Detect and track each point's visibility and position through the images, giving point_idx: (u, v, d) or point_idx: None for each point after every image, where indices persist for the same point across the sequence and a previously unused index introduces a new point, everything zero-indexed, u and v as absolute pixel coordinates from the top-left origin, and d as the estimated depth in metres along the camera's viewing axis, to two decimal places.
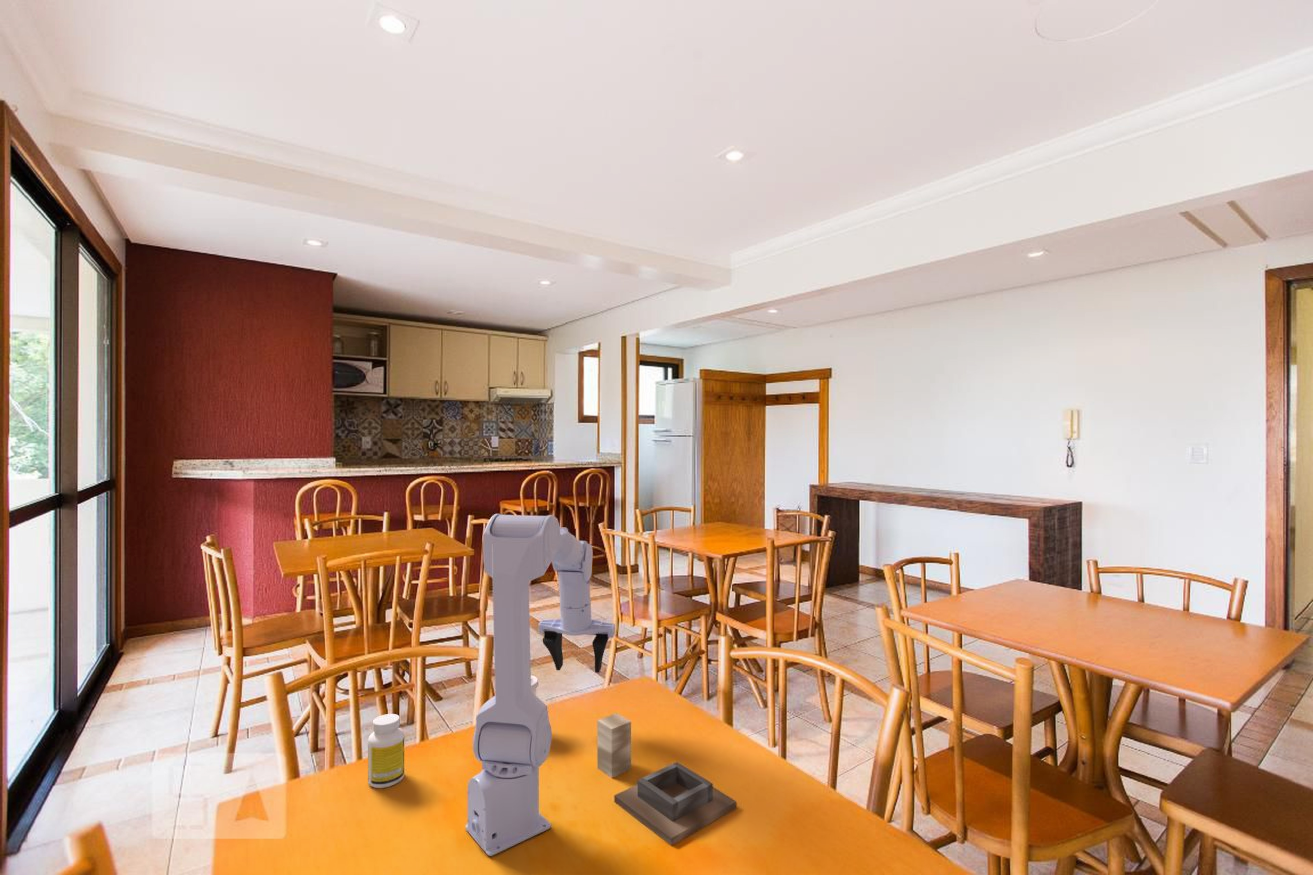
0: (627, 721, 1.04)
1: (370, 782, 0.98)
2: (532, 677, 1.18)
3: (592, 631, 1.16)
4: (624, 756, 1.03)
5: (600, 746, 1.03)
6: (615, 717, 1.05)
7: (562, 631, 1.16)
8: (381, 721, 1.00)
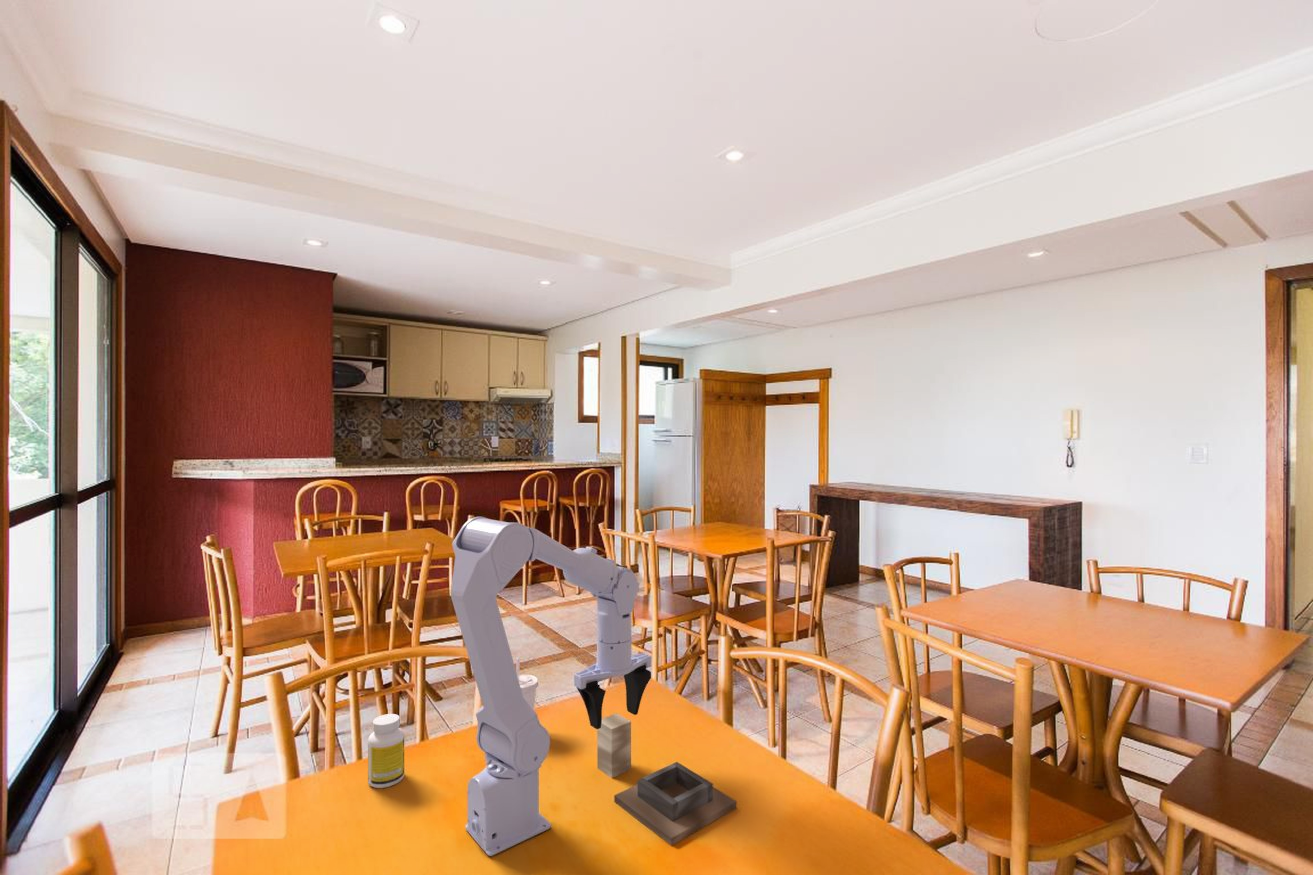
0: (627, 721, 1.04)
1: (370, 782, 0.98)
2: (532, 677, 1.18)
3: (638, 664, 1.04)
4: (624, 756, 1.03)
5: (600, 746, 1.03)
6: (615, 717, 1.05)
7: (613, 673, 1.00)
8: (381, 721, 1.00)
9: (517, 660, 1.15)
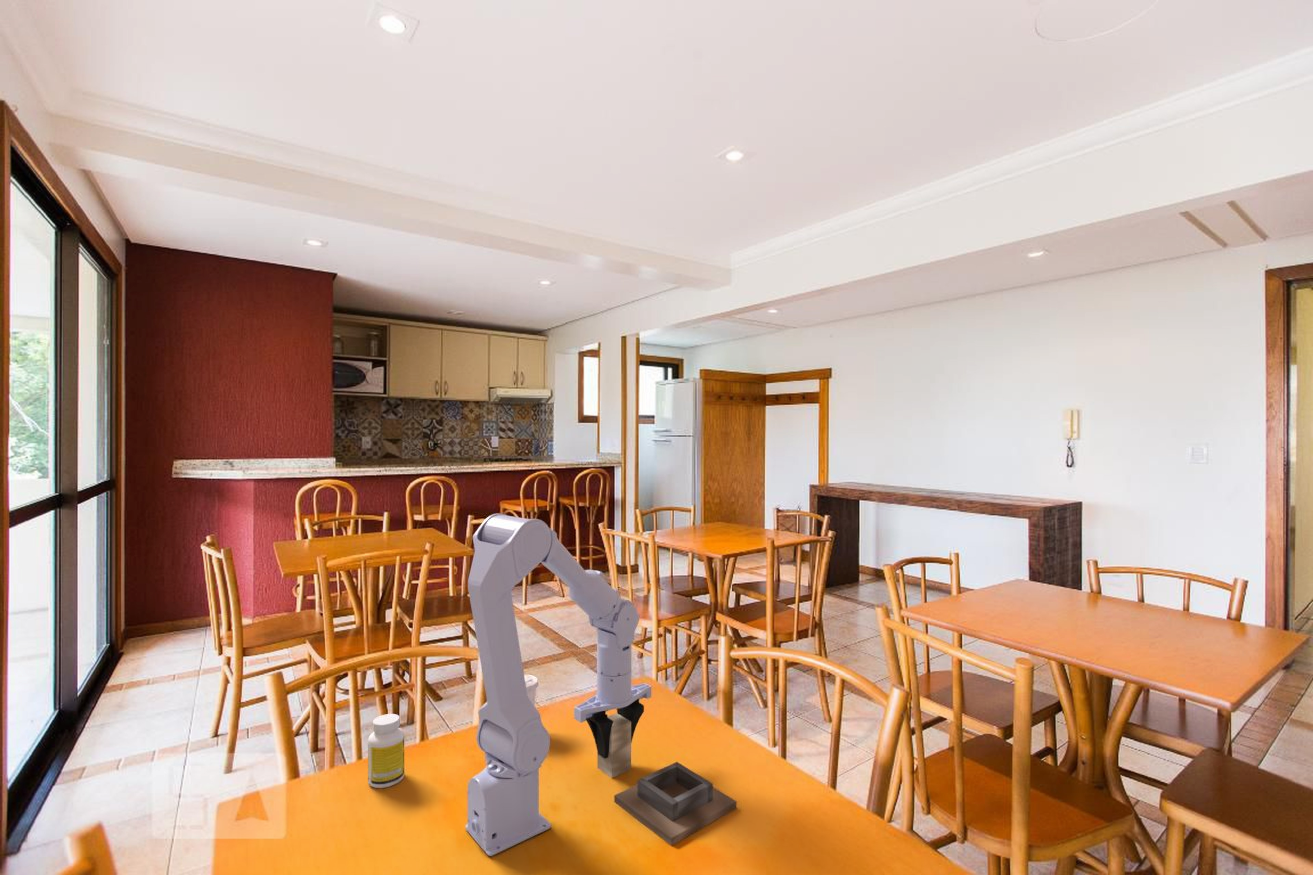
0: (627, 721, 1.04)
1: (370, 782, 0.98)
2: (532, 677, 1.18)
3: (638, 695, 1.04)
4: (624, 756, 1.03)
5: None
6: (615, 717, 1.05)
7: (613, 706, 1.00)
8: (381, 721, 1.00)
9: None
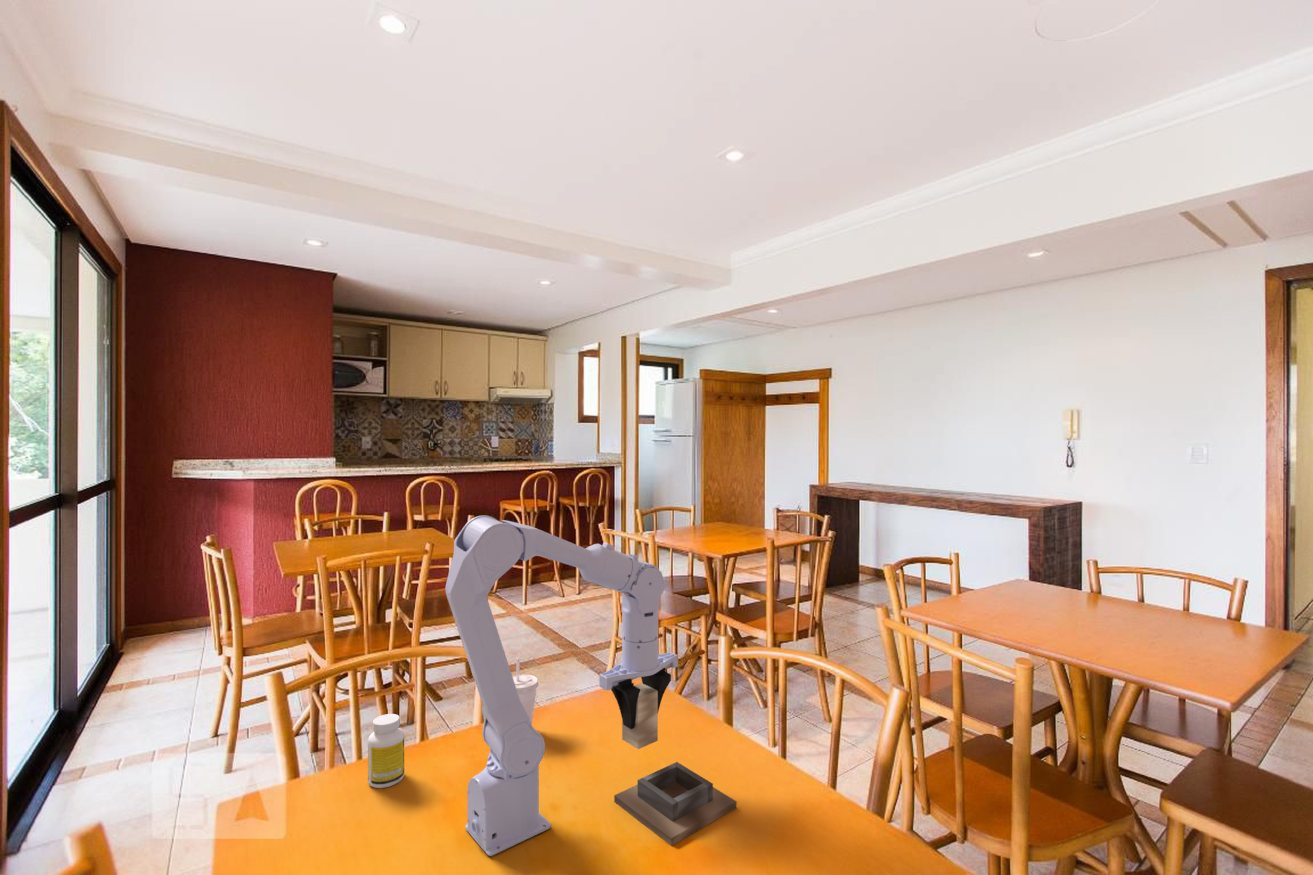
0: (653, 690, 0.99)
1: (370, 782, 0.98)
2: (532, 677, 1.18)
3: (665, 664, 1.00)
4: (650, 727, 0.98)
5: None
6: (640, 687, 1.00)
7: (640, 674, 0.96)
8: (381, 721, 1.00)
9: (517, 660, 1.15)
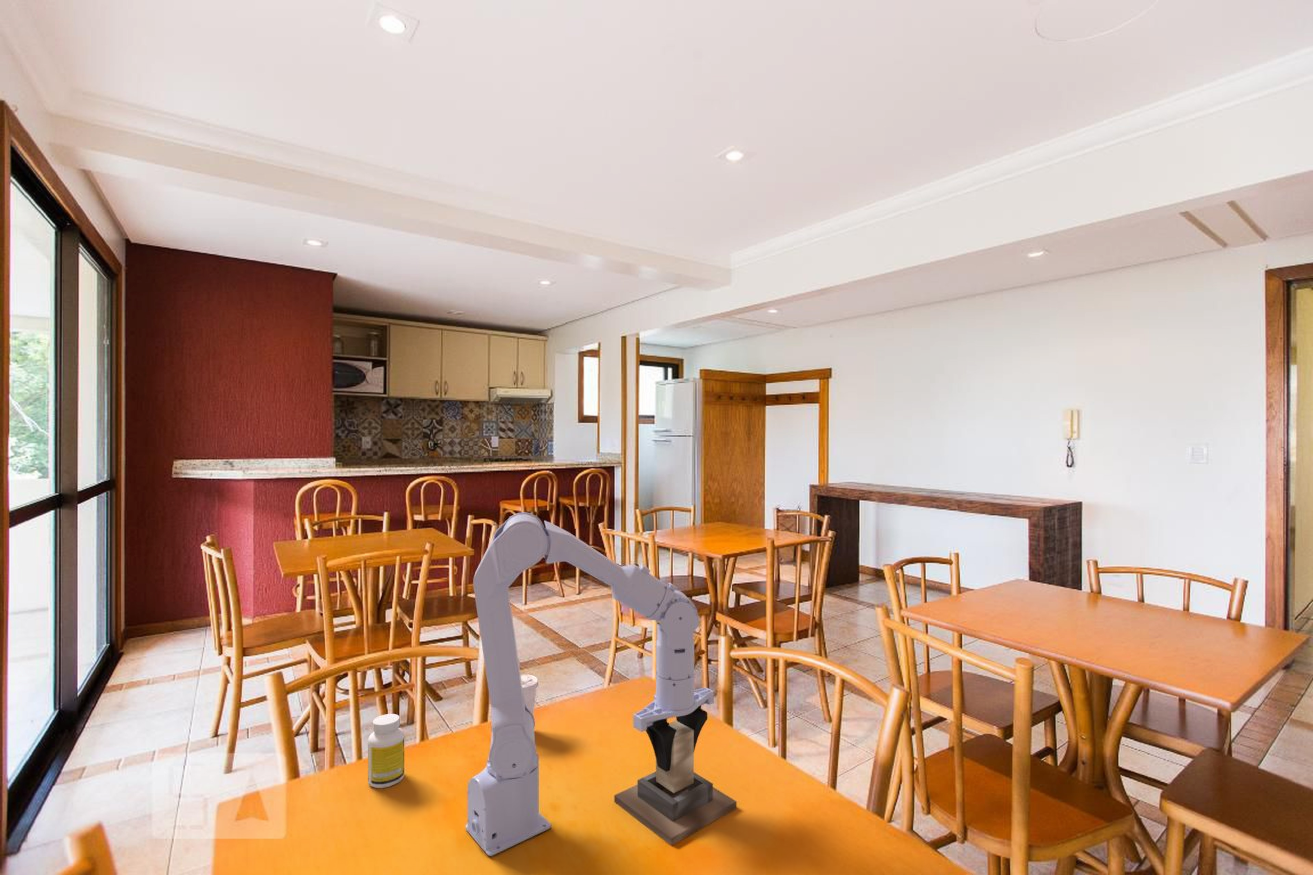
0: (689, 729, 0.93)
1: (370, 782, 0.98)
2: (532, 677, 1.18)
3: (701, 701, 0.94)
4: (686, 768, 0.93)
5: None
6: (675, 725, 0.95)
7: (676, 713, 0.90)
8: (381, 721, 1.00)
9: None
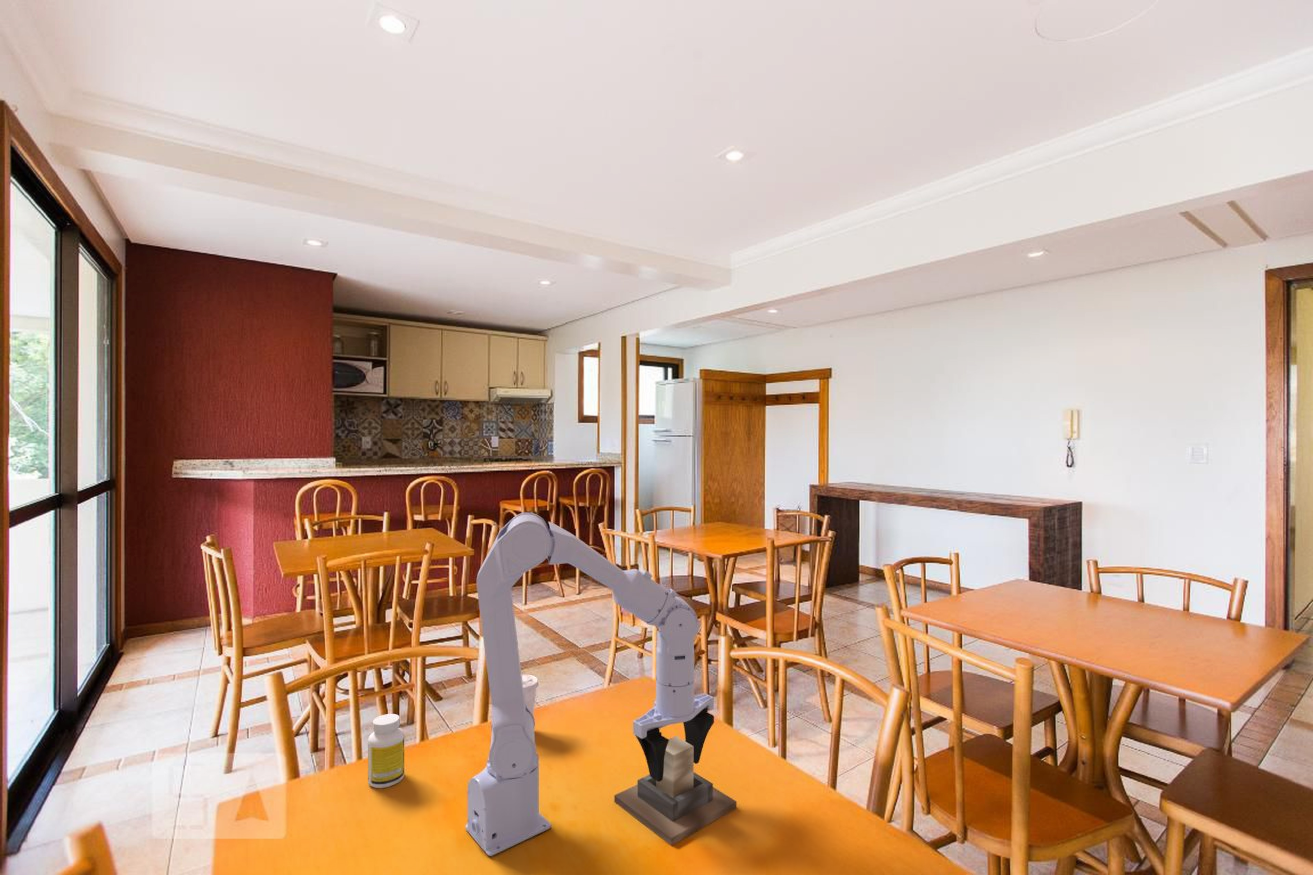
0: (689, 746, 0.94)
1: (370, 782, 0.98)
2: (532, 677, 1.18)
3: (701, 708, 0.94)
4: (686, 785, 0.93)
5: None
6: (675, 741, 0.95)
7: (676, 720, 0.90)
8: (381, 721, 1.00)
9: None
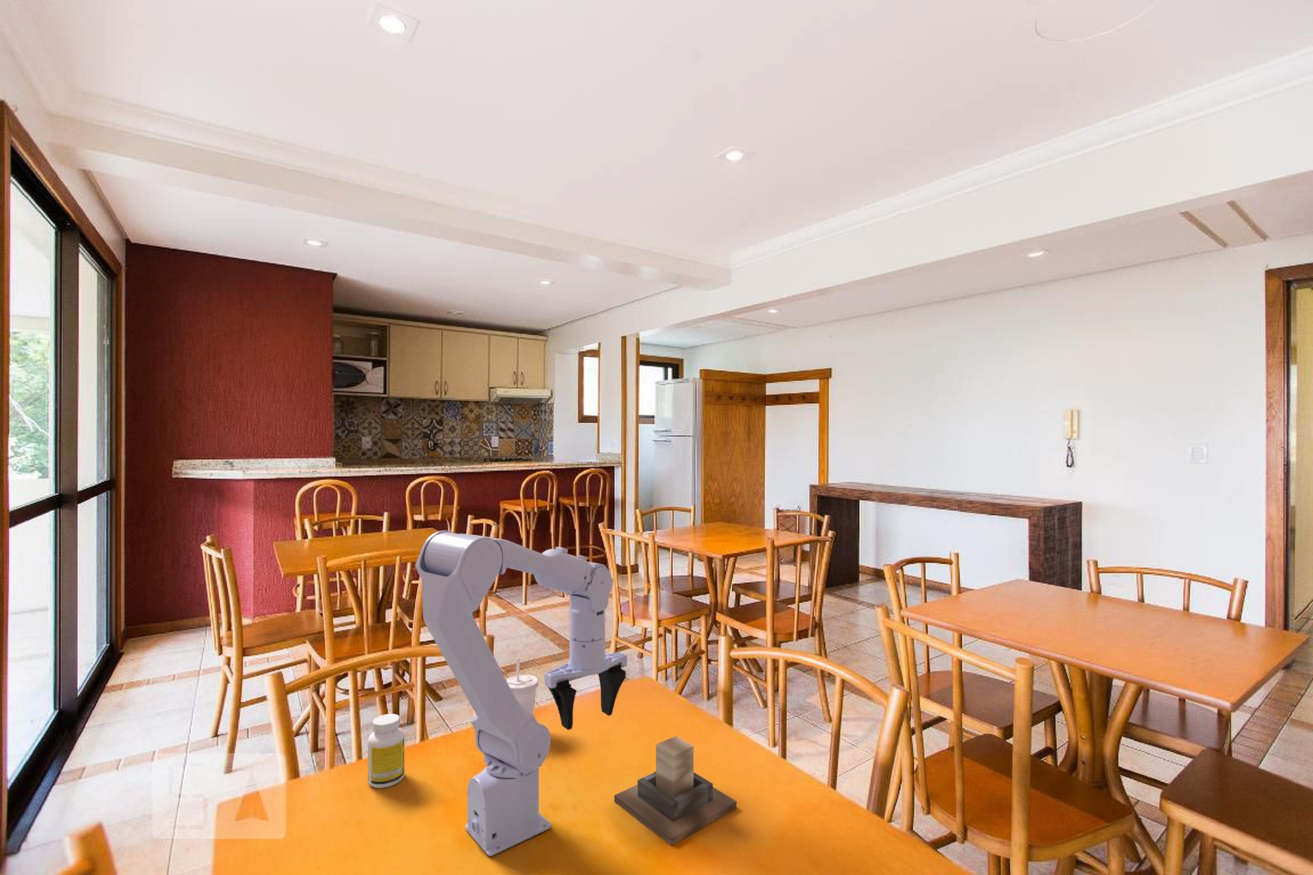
0: (689, 746, 0.94)
1: (370, 782, 0.98)
2: (532, 677, 1.18)
3: (612, 663, 1.01)
4: (686, 785, 0.93)
5: (659, 773, 0.93)
6: (675, 741, 0.95)
7: (585, 673, 0.98)
8: (381, 721, 1.00)
9: (517, 660, 1.15)
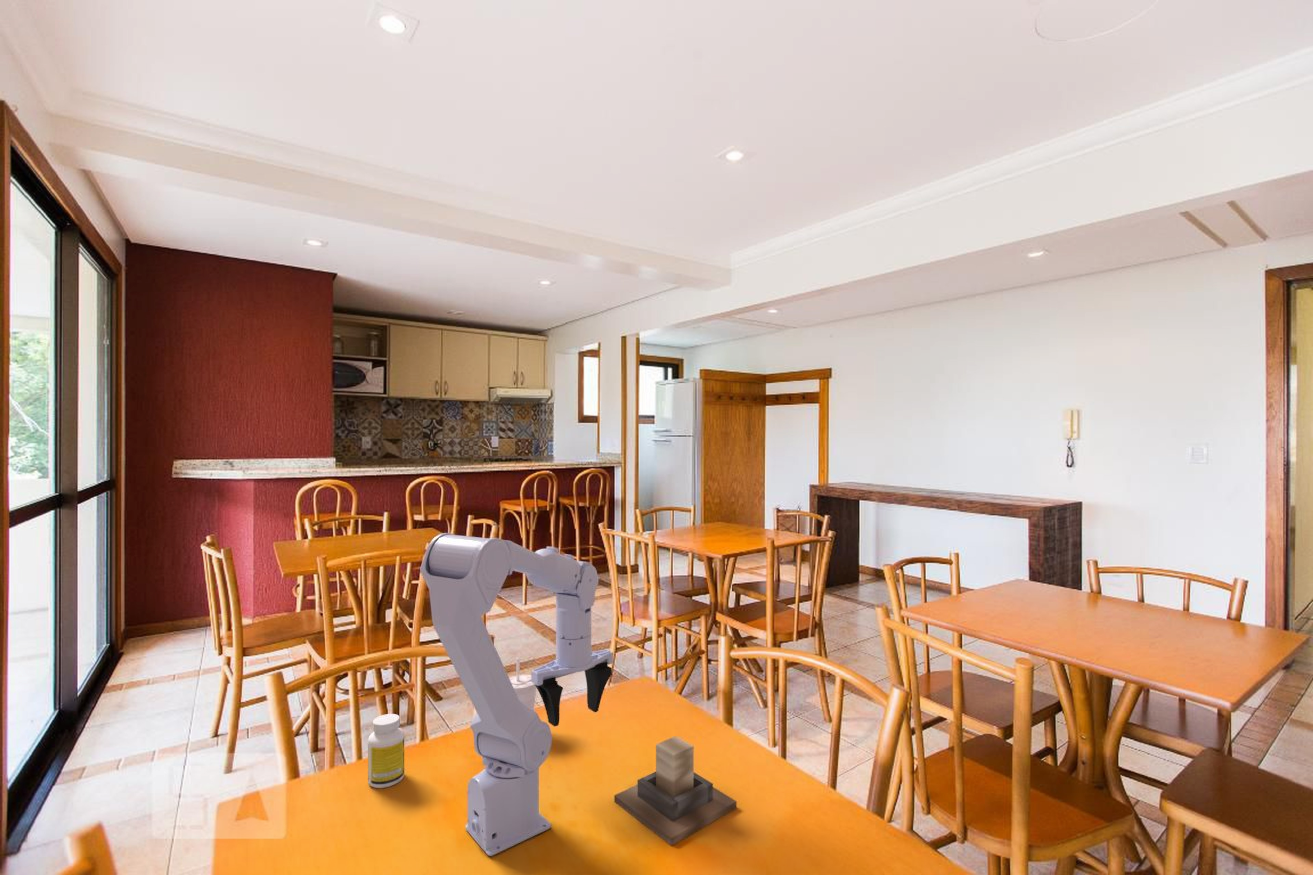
0: (689, 746, 0.94)
1: (370, 782, 0.98)
2: None
3: (598, 660, 1.03)
4: (686, 785, 0.93)
5: (659, 773, 0.93)
6: (675, 741, 0.95)
7: (571, 670, 0.99)
8: (381, 721, 1.00)
9: (517, 660, 1.15)
